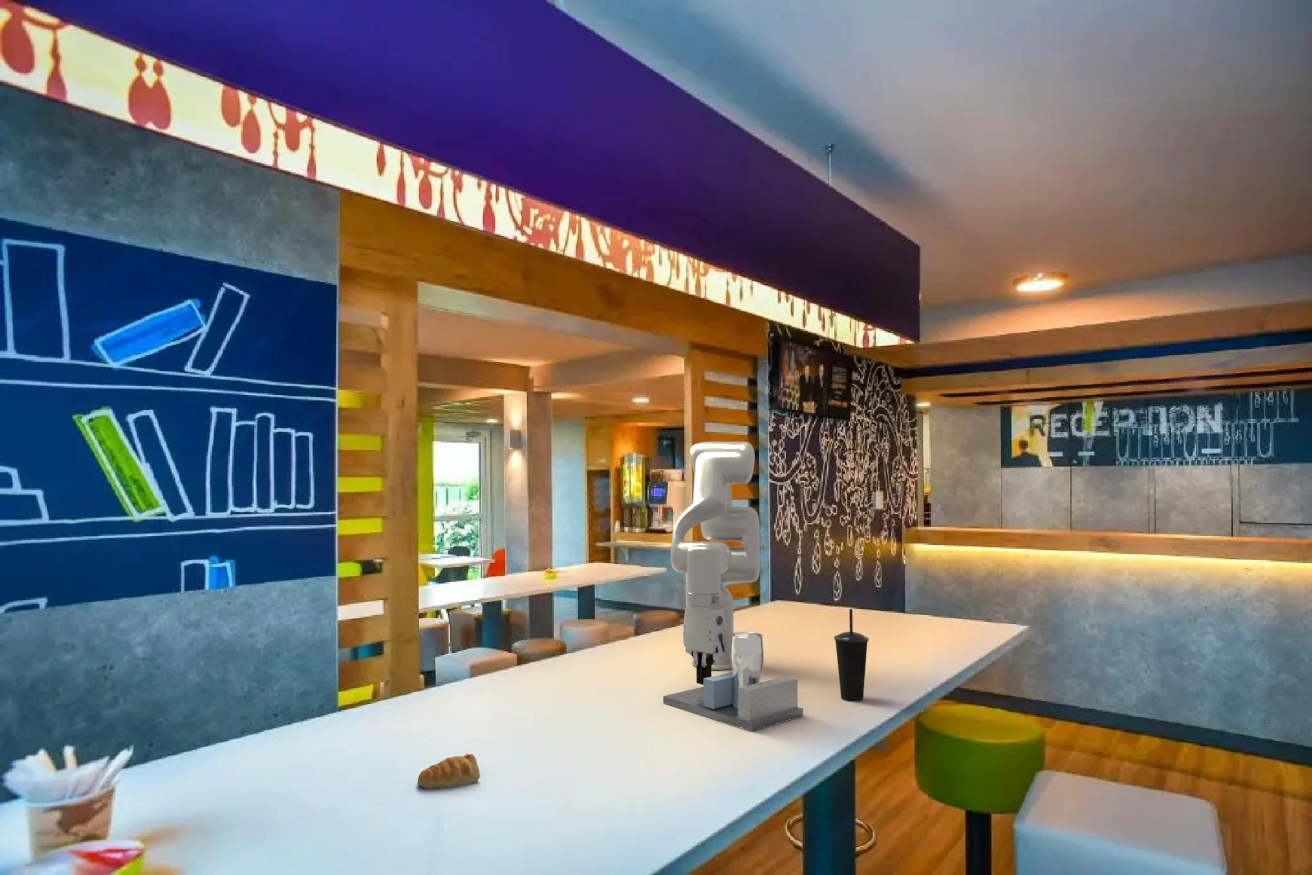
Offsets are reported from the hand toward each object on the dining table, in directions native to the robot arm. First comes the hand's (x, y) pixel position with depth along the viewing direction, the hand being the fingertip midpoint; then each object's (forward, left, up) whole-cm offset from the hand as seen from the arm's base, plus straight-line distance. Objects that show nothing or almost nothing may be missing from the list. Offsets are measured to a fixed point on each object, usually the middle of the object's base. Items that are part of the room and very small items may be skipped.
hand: (703, 683), depth 170 cm
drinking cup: (+20, +27, -4) cm, 34 cm away
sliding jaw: (+9, 0, -2) cm, 9 cm away
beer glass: (+13, 0, -3) cm, 14 cm away
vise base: (+8, 0, -4) cm, 9 cm away
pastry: (+7, -64, -4) cm, 64 cm away
